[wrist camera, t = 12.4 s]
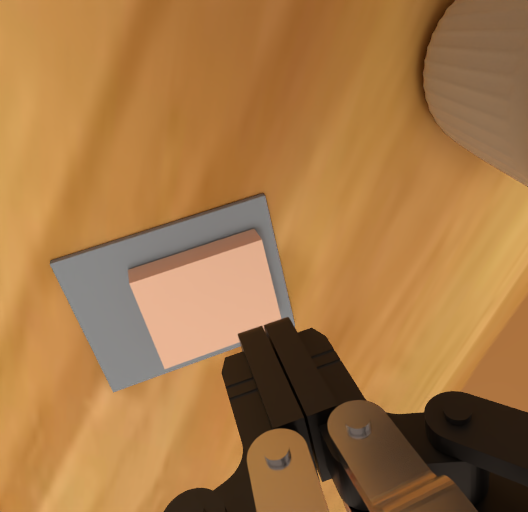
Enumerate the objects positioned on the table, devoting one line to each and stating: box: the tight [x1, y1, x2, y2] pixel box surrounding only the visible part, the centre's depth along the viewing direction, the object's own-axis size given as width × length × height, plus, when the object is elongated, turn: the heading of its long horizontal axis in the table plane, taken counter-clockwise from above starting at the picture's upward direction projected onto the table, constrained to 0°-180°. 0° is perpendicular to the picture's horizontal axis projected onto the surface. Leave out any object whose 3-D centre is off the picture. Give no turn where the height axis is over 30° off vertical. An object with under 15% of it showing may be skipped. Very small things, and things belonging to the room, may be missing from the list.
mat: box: [50, 193, 295, 392], centre depth 44 cm, size 18×14×1 cm
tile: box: [128, 229, 281, 369], centre depth 43 cm, size 3×9×11 cm
